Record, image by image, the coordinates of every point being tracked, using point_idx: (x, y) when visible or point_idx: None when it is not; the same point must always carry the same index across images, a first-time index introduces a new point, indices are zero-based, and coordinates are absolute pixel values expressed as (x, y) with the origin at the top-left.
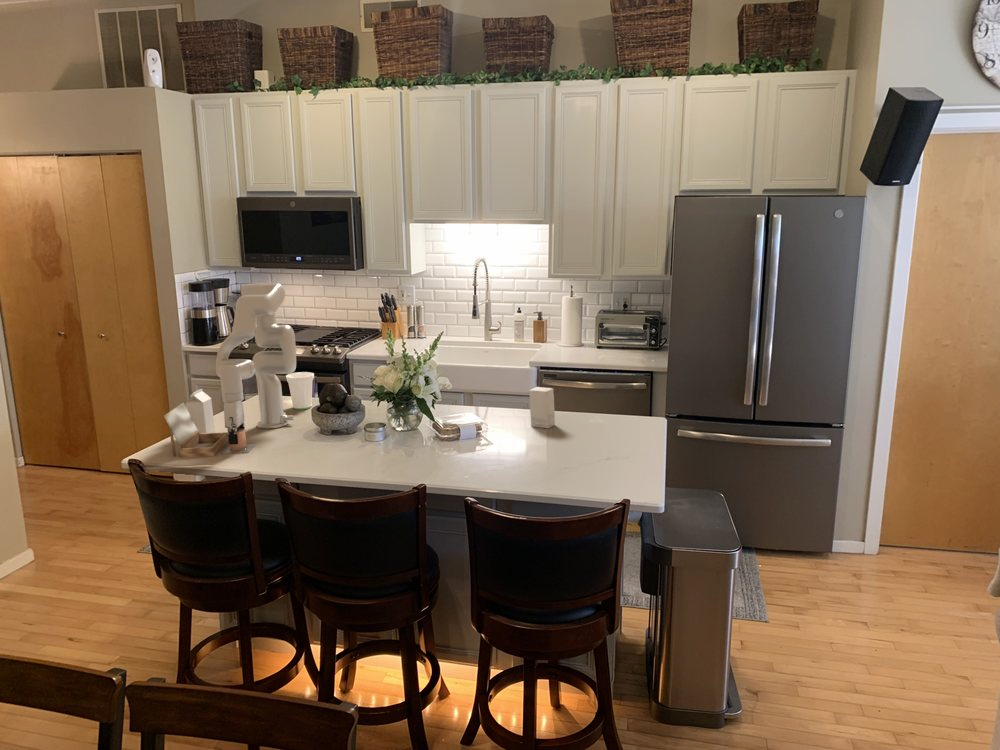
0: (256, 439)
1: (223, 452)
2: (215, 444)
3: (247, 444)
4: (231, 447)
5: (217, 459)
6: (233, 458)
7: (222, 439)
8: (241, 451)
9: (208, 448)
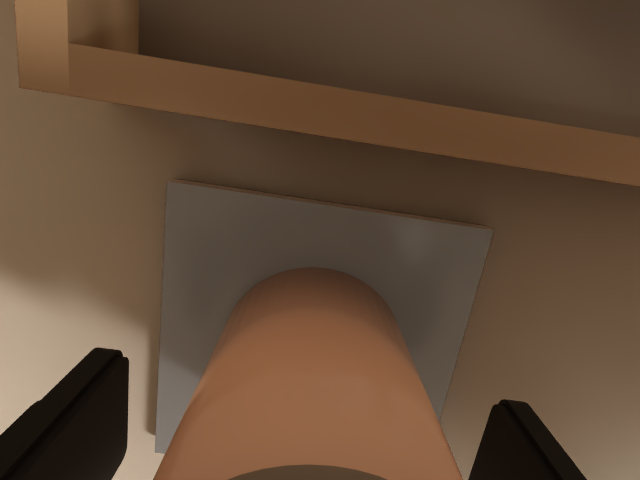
0: (634, 459)
1: (199, 207)
2: (221, 103)
3: (439, 419)
4: (238, 311)
5: (5, 160)
6: (28, 325)
7: (549, 171)
8: None
9: (23, 1)
